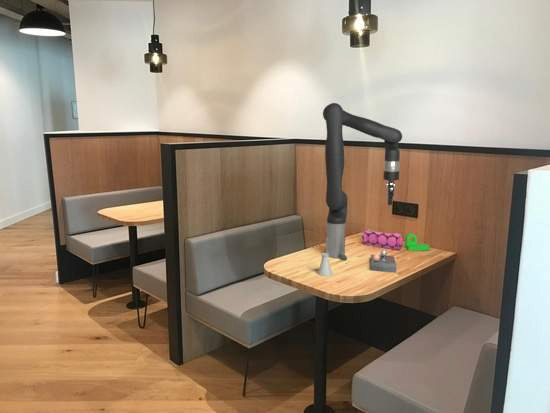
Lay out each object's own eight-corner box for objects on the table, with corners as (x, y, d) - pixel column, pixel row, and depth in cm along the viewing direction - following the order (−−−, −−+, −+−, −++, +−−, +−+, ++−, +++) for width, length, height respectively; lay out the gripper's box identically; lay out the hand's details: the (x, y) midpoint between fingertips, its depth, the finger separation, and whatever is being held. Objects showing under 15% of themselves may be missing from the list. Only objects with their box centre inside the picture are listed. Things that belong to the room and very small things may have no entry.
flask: (322, 272, 199) (322, 250, 197) (336, 275, 195) (336, 253, 193) (313, 276, 194) (313, 254, 192) (327, 279, 189) (327, 257, 187)
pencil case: (360, 247, 242) (361, 229, 240) (366, 243, 250) (367, 226, 248) (399, 252, 231) (400, 234, 229) (404, 248, 239) (405, 230, 238)
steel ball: (379, 251, 214) (380, 248, 217) (380, 257, 215) (381, 254, 218) (386, 251, 213) (386, 248, 215) (387, 257, 214) (387, 253, 216)
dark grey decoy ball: (342, 259, 212) (347, 262, 214) (343, 253, 213) (348, 255, 215) (338, 260, 215) (343, 262, 216) (339, 254, 216) (344, 256, 217)
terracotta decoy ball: (372, 262, 205) (373, 255, 205) (372, 260, 208) (373, 253, 208) (379, 262, 205) (380, 255, 204) (379, 260, 208) (379, 254, 207)
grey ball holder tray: (371, 270, 200) (371, 262, 200) (370, 259, 218) (371, 251, 217) (396, 272, 198) (396, 264, 197) (393, 260, 216) (393, 253, 215)
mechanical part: (408, 250, 235) (409, 236, 234) (405, 247, 241) (405, 233, 240) (430, 250, 235) (431, 236, 234) (426, 247, 241) (427, 233, 240)
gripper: (383, 168, 222) (381, 202, 225) (384, 171, 209) (382, 206, 212) (398, 169, 220) (396, 202, 223) (400, 171, 207) (398, 207, 211)
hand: (389, 204), depth 218 cm, fingers closed
